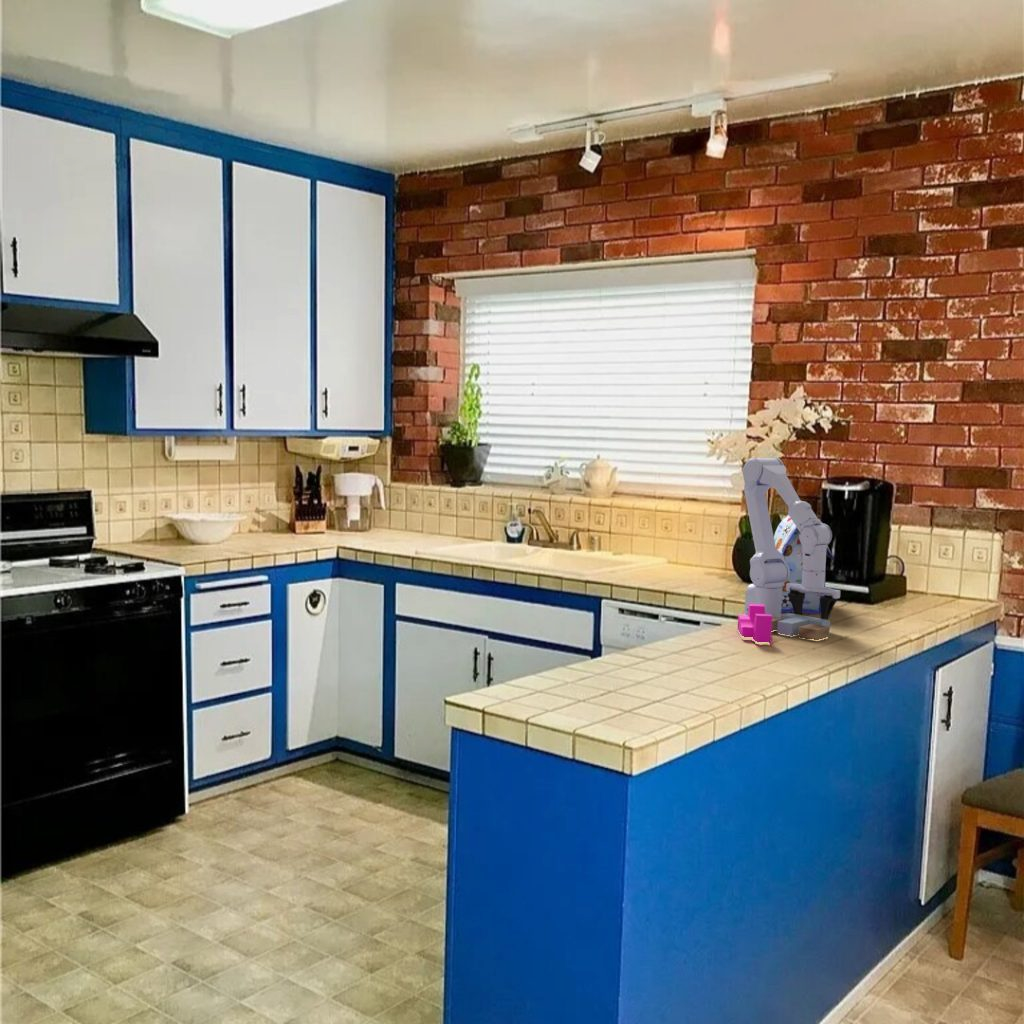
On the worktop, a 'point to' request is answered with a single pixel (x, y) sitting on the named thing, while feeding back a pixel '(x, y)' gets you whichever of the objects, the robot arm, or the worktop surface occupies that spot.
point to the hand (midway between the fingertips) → (811, 621)
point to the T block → (797, 623)
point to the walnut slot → (806, 630)
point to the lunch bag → (795, 565)
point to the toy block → (756, 623)
